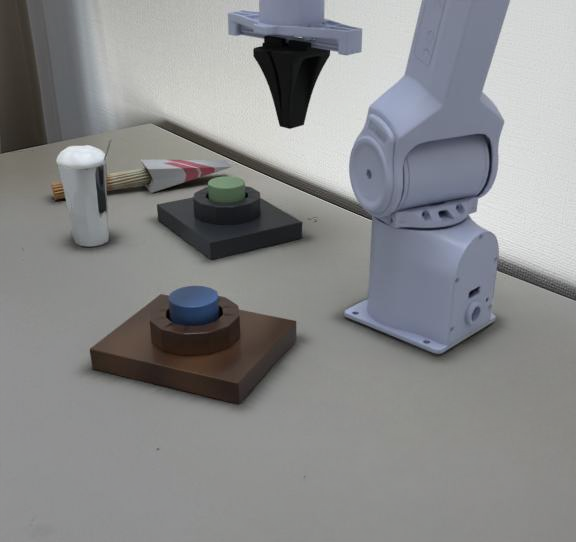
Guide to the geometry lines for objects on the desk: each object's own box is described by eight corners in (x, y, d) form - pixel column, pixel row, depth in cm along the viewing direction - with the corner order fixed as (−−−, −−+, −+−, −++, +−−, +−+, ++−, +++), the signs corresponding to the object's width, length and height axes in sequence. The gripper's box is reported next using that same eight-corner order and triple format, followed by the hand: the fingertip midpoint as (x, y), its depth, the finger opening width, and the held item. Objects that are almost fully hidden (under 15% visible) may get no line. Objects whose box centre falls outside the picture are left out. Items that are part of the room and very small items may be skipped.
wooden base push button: (296, 340, 67) (296, 299, 65) (239, 404, 59) (237, 359, 58) (162, 312, 71) (159, 273, 69) (91, 369, 64) (85, 326, 62)
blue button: (227, 311, 65) (227, 290, 64) (204, 332, 62) (203, 310, 61) (185, 303, 66) (184, 282, 65) (160, 323, 63) (158, 301, 62)
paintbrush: (232, 155, 98) (53, 184, 92) (234, 179, 99) (58, 209, 93) (222, 146, 101) (48, 173, 95) (224, 169, 102) (52, 197, 97)
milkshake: (113, 252, 82) (101, 146, 77) (60, 247, 83) (44, 143, 78) (130, 234, 86) (119, 132, 81) (79, 230, 87) (65, 129, 82)
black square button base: (302, 238, 85) (302, 203, 83) (210, 259, 80) (209, 223, 79) (243, 202, 94) (242, 170, 92) (157, 220, 89) (155, 186, 87)
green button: (252, 201, 85) (251, 183, 84) (219, 208, 83) (218, 190, 82) (234, 191, 88) (233, 173, 87) (202, 197, 86) (201, 180, 85)
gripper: (200, -38, 76) (207, 119, 83) (324, -25, 67) (321, 150, 74) (257, -44, 80) (260, 106, 87) (381, -32, 72) (373, 133, 79)
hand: (291, 125), depth 81 cm, fingers closed
